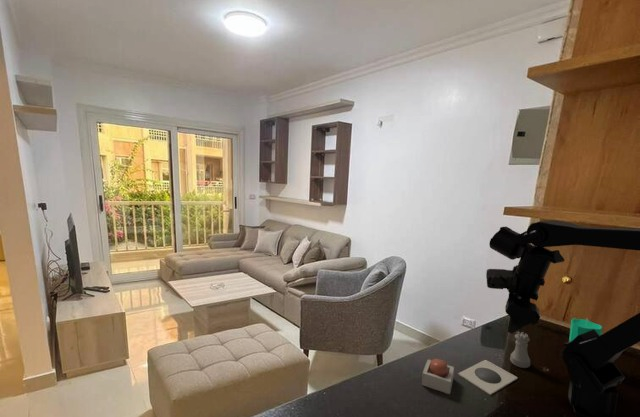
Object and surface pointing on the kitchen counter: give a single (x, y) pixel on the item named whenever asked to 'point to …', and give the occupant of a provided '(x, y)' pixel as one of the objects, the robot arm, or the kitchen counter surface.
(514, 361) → the rook chess piece
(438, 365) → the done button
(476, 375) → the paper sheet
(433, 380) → the button housing
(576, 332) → the candle
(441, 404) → the kitchen counter surface
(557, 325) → the kitchen counter surface
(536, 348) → the kitchen counter surface
